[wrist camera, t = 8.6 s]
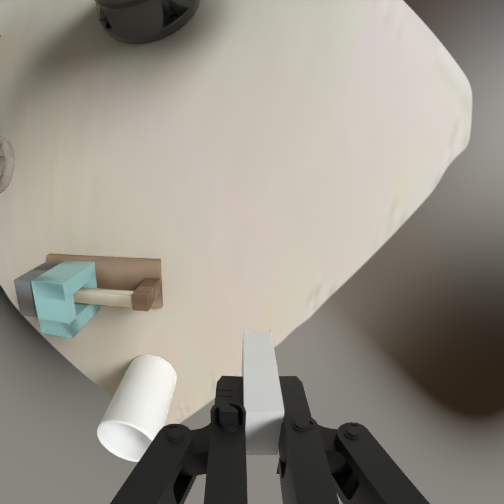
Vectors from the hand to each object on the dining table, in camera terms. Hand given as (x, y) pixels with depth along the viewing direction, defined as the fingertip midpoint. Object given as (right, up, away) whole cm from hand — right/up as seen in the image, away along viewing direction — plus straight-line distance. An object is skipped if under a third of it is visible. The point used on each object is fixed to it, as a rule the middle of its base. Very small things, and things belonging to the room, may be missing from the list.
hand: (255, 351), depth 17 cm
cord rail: (-22, +2, +26) cm, 35 cm away
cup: (-17, -15, +31) cm, 38 cm away
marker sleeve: (-24, +1, +23) cm, 34 cm away
